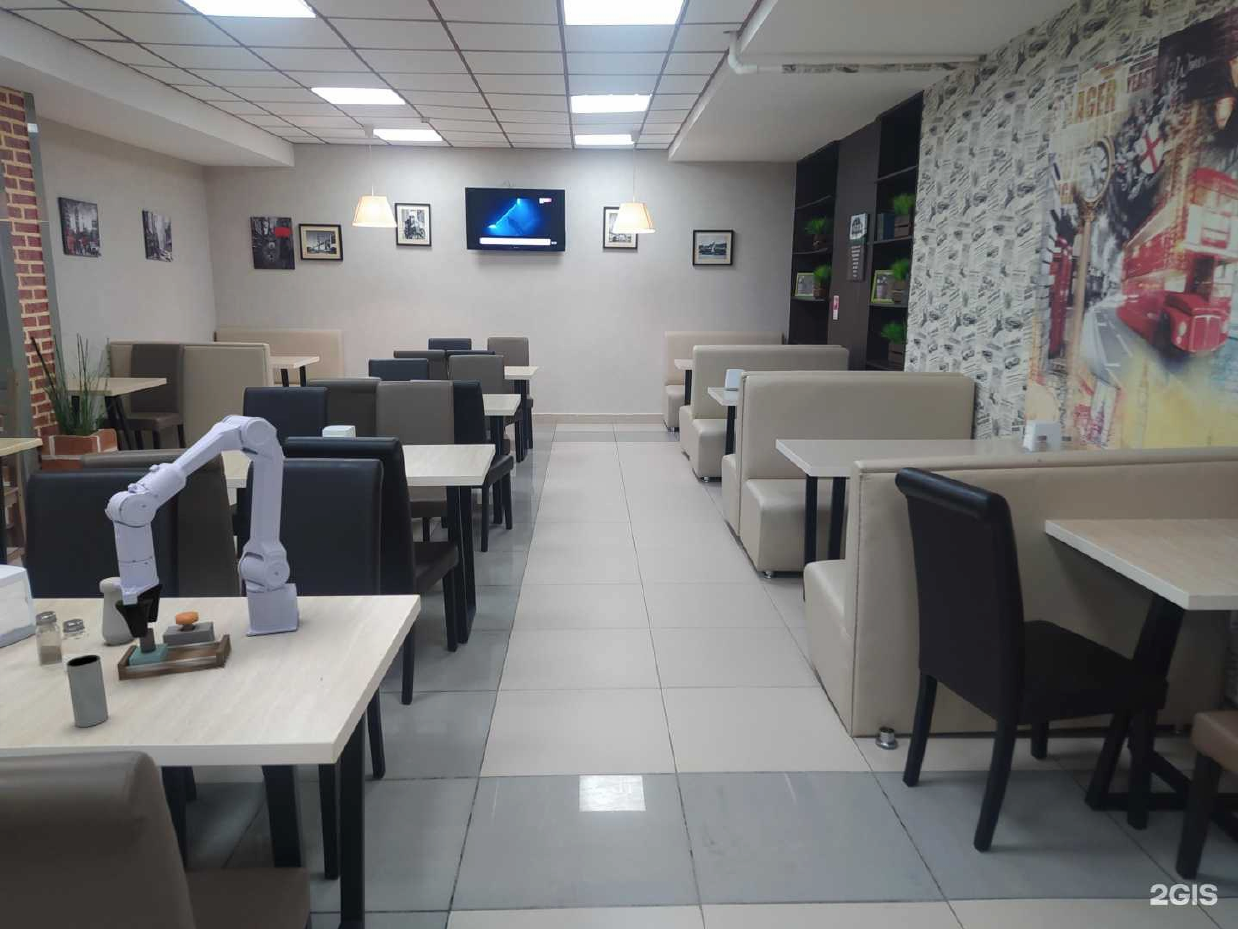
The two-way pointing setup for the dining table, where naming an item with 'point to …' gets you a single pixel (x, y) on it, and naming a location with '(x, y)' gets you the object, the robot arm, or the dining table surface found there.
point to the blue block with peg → (148, 651)
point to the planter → (87, 690)
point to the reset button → (187, 620)
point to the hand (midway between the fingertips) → (145, 629)
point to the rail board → (178, 659)
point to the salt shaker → (113, 614)
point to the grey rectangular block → (189, 634)
